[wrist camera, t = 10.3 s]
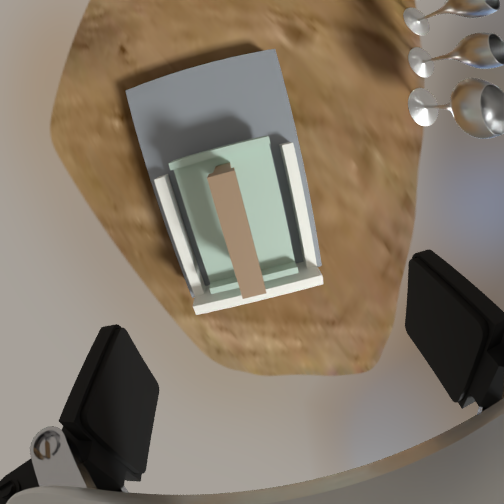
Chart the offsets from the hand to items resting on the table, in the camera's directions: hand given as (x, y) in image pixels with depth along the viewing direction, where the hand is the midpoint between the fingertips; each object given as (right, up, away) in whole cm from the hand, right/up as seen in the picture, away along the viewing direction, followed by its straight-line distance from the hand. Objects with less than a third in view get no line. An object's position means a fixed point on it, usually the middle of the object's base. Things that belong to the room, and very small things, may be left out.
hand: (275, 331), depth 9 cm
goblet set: (+19, +29, +14) cm, 38 cm away
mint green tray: (-2, +7, +19) cm, 20 cm away
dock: (-3, +10, +21) cm, 23 cm away
